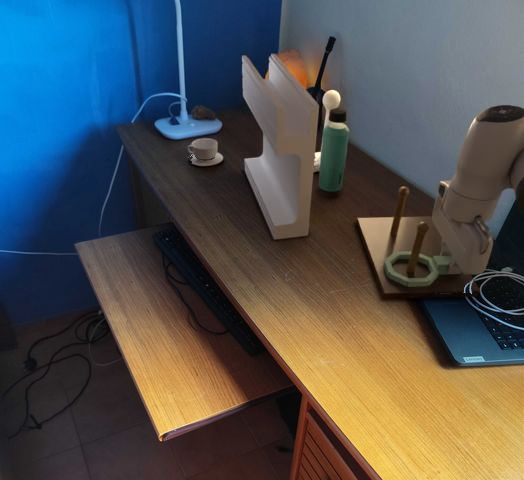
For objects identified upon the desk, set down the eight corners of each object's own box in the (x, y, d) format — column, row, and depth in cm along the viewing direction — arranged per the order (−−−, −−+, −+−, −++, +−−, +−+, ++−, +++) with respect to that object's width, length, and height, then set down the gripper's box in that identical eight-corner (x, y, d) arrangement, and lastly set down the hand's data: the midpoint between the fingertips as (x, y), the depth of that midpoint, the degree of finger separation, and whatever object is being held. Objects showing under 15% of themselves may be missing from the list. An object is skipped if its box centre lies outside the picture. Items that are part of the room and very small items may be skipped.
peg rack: (434, 221, 111) (450, 170, 102) (477, 296, 92) (501, 242, 83) (356, 223, 111) (364, 172, 102) (383, 299, 91) (396, 244, 82)
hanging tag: (449, 255, 99) (453, 245, 98) (467, 285, 92) (471, 275, 90) (379, 256, 99) (381, 246, 97) (391, 287, 92) (394, 277, 90)
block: (307, 235, 107) (319, 105, 87) (273, 239, 106) (277, 108, 86) (272, 168, 131) (275, 53, 110) (244, 171, 129) (241, 55, 109)
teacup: (226, 153, 137) (225, 137, 134) (219, 168, 130) (218, 152, 127) (193, 151, 138) (191, 135, 135) (184, 166, 131) (182, 149, 128)
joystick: (339, 176, 128) (349, 97, 113) (313, 179, 126) (320, 99, 112) (324, 159, 135) (332, 82, 121) (299, 161, 134) (305, 85, 119)
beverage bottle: (339, 199, 119) (350, 116, 104) (314, 195, 120) (321, 113, 106) (344, 187, 123) (355, 106, 109) (319, 183, 124) (327, 103, 110)
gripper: (510, 233, 78) (482, 297, 88) (467, 177, 92) (447, 237, 102) (473, 234, 78) (449, 298, 88) (436, 177, 92) (418, 238, 102)
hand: (447, 265), depth 95 cm, fingers closed on hanging tag, 3 cm apart
